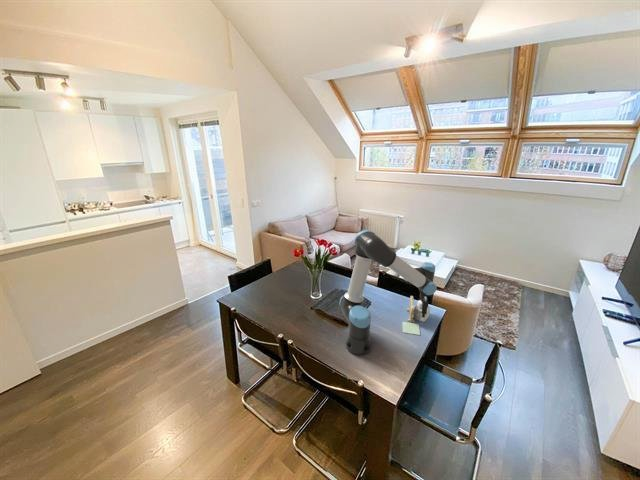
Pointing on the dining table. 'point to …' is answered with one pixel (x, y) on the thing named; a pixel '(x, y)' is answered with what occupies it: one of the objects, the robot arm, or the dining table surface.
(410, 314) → the screen
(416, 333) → the mat
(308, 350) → the dining table surface
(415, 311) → the container
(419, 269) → the robot arm
